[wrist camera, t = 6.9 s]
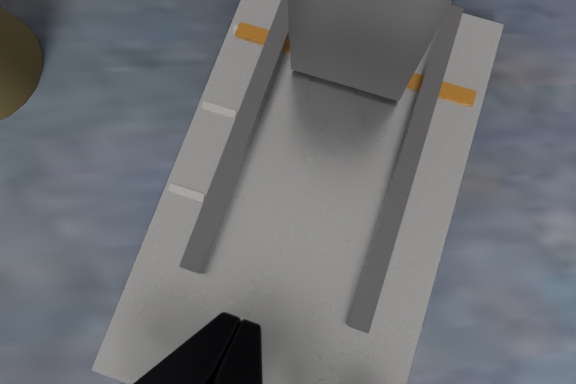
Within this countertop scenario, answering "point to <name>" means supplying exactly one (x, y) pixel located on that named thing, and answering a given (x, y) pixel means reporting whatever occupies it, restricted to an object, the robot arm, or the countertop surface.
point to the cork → (17, 63)
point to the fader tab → (363, 40)
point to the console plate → (306, 208)
